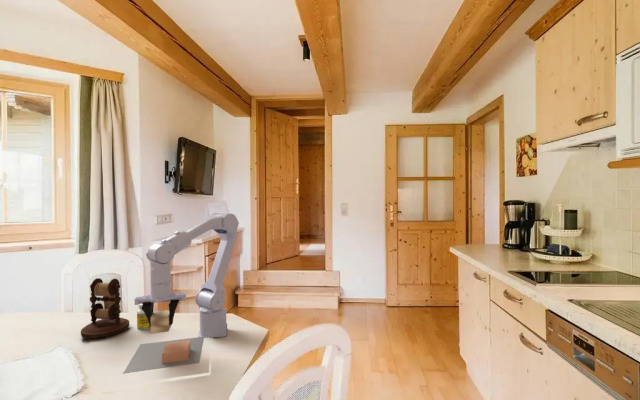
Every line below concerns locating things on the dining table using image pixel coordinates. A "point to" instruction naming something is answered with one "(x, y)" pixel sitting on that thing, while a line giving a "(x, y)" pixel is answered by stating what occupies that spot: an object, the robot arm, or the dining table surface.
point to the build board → (155, 355)
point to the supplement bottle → (142, 319)
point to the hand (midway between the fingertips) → (161, 324)
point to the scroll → (105, 310)
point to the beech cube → (160, 321)
